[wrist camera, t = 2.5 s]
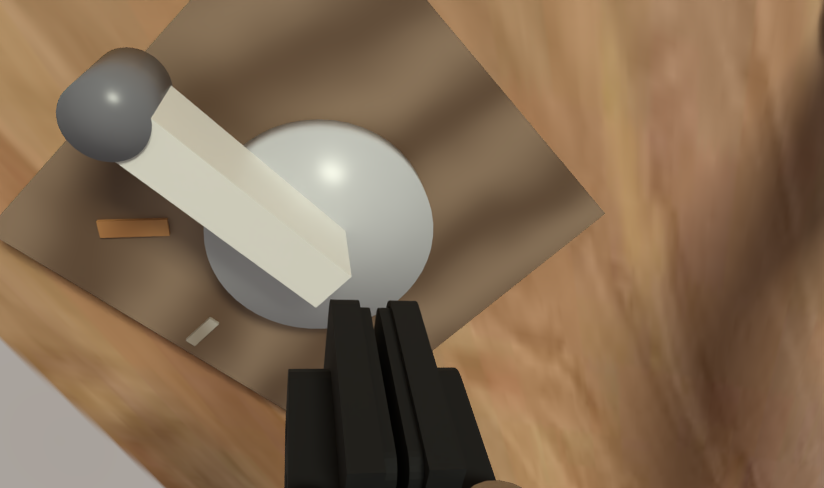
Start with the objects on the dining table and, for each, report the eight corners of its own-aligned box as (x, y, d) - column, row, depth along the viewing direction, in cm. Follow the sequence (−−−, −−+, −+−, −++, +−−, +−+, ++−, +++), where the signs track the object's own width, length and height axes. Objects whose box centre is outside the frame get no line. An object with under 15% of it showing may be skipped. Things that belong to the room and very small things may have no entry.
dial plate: (590, 197, 35) (606, 215, 33) (325, 411, 41) (326, 436, 39) (311, -137, 25) (312, -138, 23) (3, 211, 30) (-16, 233, 28)
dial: (469, 219, 32) (500, 280, 27) (324, 342, 35) (328, 418, 30) (195, -50, 24) (168, -32, 19) (32, 139, 26) (-29, 198, 22)
